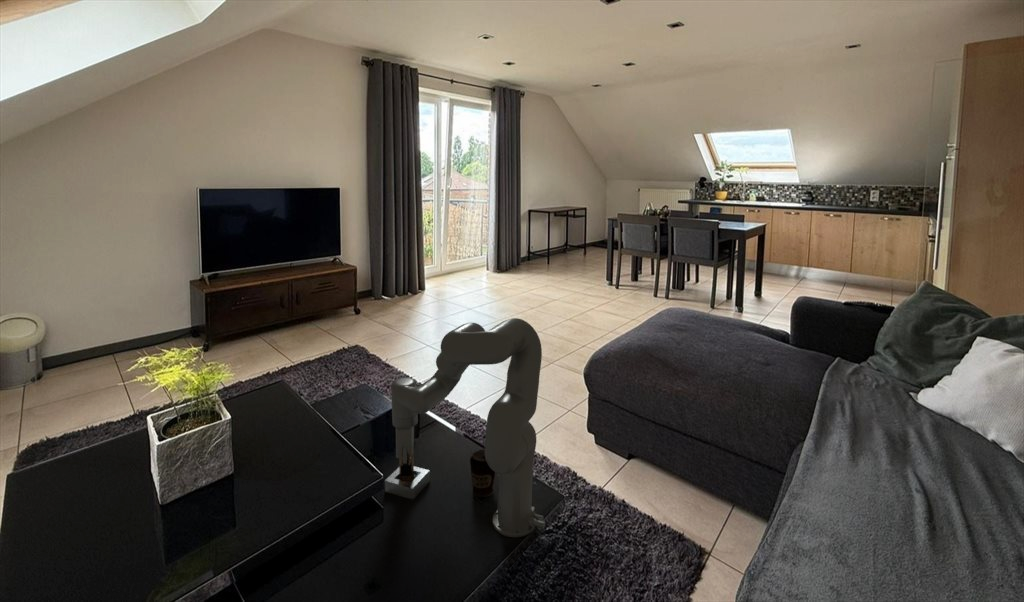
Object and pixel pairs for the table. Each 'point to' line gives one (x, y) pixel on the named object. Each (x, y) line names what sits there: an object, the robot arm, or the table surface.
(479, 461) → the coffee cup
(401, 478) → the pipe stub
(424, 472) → the white square frame block
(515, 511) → the robot arm
